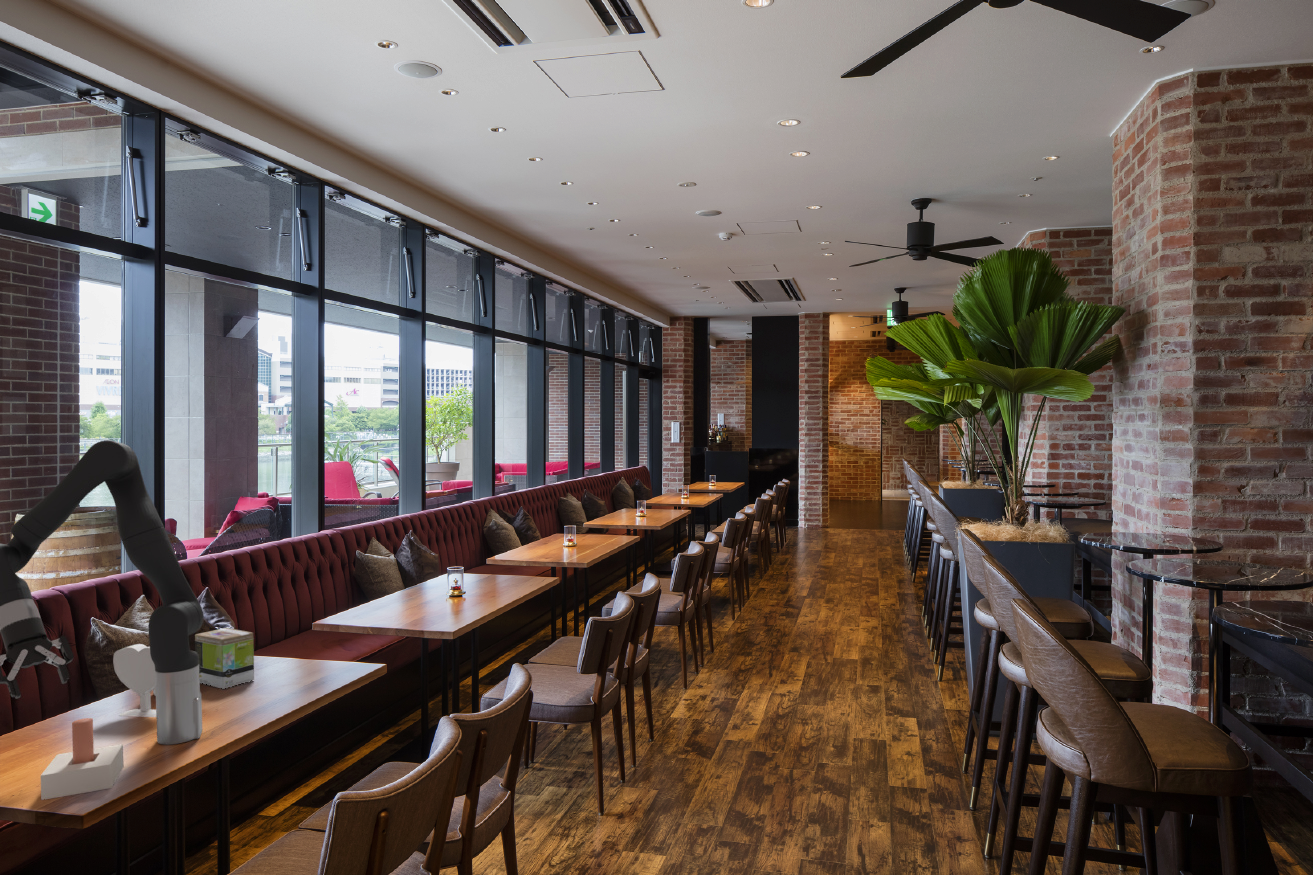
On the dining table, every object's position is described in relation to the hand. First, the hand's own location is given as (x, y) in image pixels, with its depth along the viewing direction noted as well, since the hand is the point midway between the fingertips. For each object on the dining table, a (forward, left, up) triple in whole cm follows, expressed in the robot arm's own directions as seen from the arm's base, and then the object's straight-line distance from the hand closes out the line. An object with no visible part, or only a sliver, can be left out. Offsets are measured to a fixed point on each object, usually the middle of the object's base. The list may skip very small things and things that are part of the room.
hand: (42, 689), depth 178 cm
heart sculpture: (-14, -32, -18) cm, 40 cm away
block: (-10, +13, -18) cm, 24 cm away
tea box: (-31, -53, -18) cm, 64 cm away
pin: (-10, +13, -17) cm, 23 cm away
